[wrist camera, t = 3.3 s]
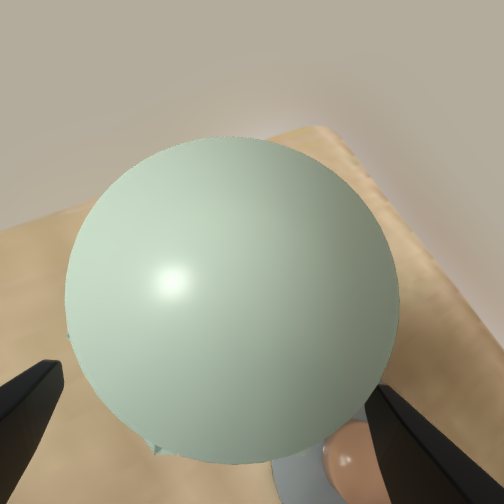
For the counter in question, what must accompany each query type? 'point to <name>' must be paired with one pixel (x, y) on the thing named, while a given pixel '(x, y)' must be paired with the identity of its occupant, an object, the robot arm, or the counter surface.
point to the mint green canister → (232, 301)
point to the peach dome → (354, 465)
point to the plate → (307, 475)
